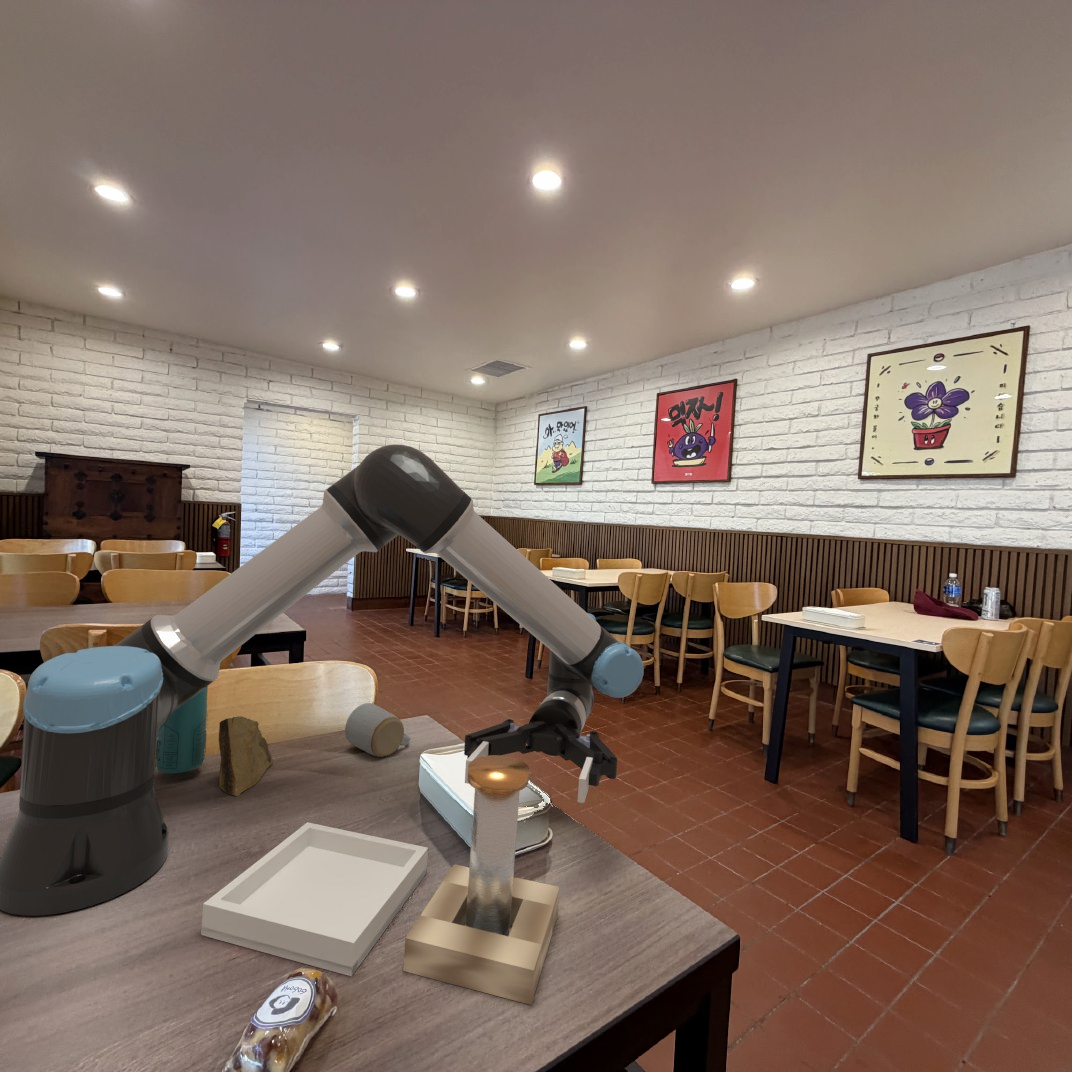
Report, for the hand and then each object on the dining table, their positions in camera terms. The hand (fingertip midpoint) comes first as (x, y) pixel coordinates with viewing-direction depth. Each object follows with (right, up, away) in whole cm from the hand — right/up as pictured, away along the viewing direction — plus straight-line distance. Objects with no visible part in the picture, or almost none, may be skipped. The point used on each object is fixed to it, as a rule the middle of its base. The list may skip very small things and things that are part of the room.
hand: (523, 781), depth 66 cm
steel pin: (-3, -11, -10) cm, 16 cm away
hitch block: (-3, -11, -10) cm, 16 cm away
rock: (-42, -9, +21) cm, 48 cm away
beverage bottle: (-53, -8, +20) cm, 57 cm away
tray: (-21, -10, -6) cm, 24 cm away
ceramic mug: (-26, -10, +35) cm, 45 cm away
